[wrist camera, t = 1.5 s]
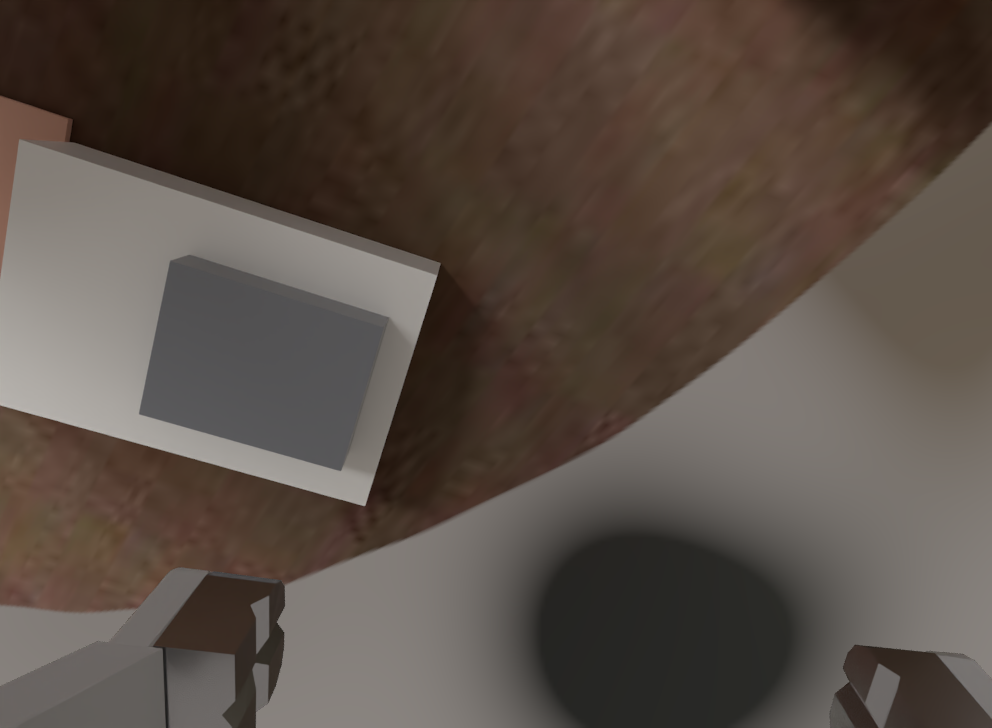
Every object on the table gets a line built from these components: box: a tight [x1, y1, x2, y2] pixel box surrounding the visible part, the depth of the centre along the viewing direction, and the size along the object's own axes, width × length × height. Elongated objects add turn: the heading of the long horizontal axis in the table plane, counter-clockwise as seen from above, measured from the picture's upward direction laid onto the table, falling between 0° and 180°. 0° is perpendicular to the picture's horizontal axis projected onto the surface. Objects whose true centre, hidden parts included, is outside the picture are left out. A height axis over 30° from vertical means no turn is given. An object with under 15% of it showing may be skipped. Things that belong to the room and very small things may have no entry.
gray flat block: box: [139, 255, 389, 471], centre depth 30 cm, size 9×7×2 cm
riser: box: [0, 139, 441, 506], centre depth 32 cm, size 18×12×4 cm, turn 71°
